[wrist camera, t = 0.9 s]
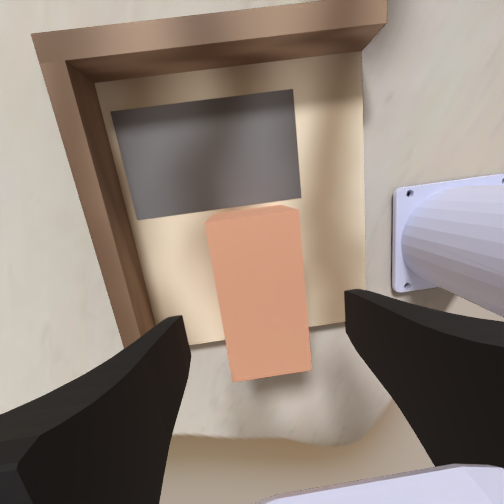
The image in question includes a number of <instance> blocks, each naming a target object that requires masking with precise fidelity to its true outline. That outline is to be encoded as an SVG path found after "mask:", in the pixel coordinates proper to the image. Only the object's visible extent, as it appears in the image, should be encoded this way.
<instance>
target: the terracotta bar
mask: <svg viewBox="0 0 504 504" xmlns="http://www.w3.org/2000/svg"><path fill="white" fill-rule="evenodd" d="M204 224H205V229H206V235H207V240H208V246H209V252H210V257H211V263H212V268H213V274H214V280H215V285H216V291H217V296H218V302H219V308H220V313H221V319H222V324H223V330H224V336H225V341H226V347H227V352H228V358H229V364H230V369H231V375H232V380H233V382H239V381H245V380H252V379H258V378H265V377H271V376H277V375H284V374H290V373H297V372H303V371H309V370H312V363H311V351H310V339H309V327H308V314H307V302H306V290H305V278H304V266H303V253H302V241H301V229H300V217H299V210H298V209H294V208H291V207H287V206H284V205H274V206H266V207H259V208H252V209H244V210H237V211H230V212H222V213H215V214H213V215H212V216H211V217H210V218H209V219H208V220H207V221H206V222H205V223H204Z"/></svg>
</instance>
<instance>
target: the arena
mask: <svg viewBox="0 0 504 504" xmlns="http://www.w3.org/2000/svg"><path fill="white" fill-rule="evenodd" d="M386 23H387V0H324V1H315V2H306V3H297V4H288V5H280V6H271V7H262V8H253V9H244V10H236V11H227V12H218V13H209V14H200V15H191V16H183V17H174V18H165V19H156V20H147V21H139V22H130V23H121V24H112V25H103V26H95V27H86V28H77V29H68V30H59V31H51V32H42V33H33V34H31V37H32V40H33V43H34V47H35V50H36V53H37V57H38V60H39V64H40V67H41V70H42V74H43V77H44V80H45V84H46V87H47V90H48V94H49V97H50V101H51V104H52V107H53V111H54V114H55V117H56V121H57V124H58V127H59V131H60V134H61V138H62V141H63V144H64V148H65V151H66V154H67V158H68V161H69V165H70V168H71V171H72V175H73V178H74V181H75V185H76V188H77V191H78V195H79V198H80V202H81V205H82V208H83V212H84V215H85V218H86V222H87V225H88V228H89V232H90V235H91V239H92V242H93V245H94V249H95V252H96V255H97V259H98V262H99V265H100V269H101V272H102V276H103V279H104V282H105V286H106V289H107V292H108V296H109V299H110V302H111V306H112V309H113V313H114V316H115V319H116V323H117V326H118V329H119V333H120V336H121V339H122V343H123V346H124V349H125V348H126V347H128V346H129V345H130V344H132V343H133V342H135V341H136V340H137V339H139V338H140V337H141V336H143V335H144V334H145V333H146V332H148V331H149V330H150V329H152V328H153V327H154V326H156V325H157V324H158V323H160V322H161V321H162V320H164V319H166V318H167V317H171V316H178V315H182V316H183V320H184V325H185V329H186V334H187V338H188V343H189V345H194V344H200V343H207V342H214V341H220V340H225V336H224V330H223V324H222V319H221V313H220V308H219V302H218V296H217V291H216V285H215V280H214V274H213V268H212V263H211V257H210V252H209V246H208V240H207V235H206V229H205V224H204V223H205V222H206V221H207V220H208V219H209V218H210V217H211V216H212V215H213V214H215V213H222V212H230V211H237V210H244V209H252V208H259V207H266V206H274V205H284V206H287V207H291V208H294V209H298V210H299V217H300V229H301V241H302V253H303V266H304V278H305V290H306V302H307V314H308V327H313V326H320V325H326V324H333V323H339V322H345V302H344V291H345V290H352V289H362V290H366V273H365V212H364V152H363V91H362V50H363V49H364V48H365V47H366V46H367V45H368V43H369V42H370V41H371V40H372V39H373V38H374V37H375V36H376V34H377V33H378V32H379V31H380V30H381V29H382V28H383V27H384V25H385V24H386Z"/></svg>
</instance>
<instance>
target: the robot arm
mask: <svg viewBox="0 0 504 504" xmlns="http://www.w3.org/2000/svg"><path fill="white" fill-rule="evenodd" d="M502 180H503V183H502ZM408 191H409V192H410V195H409V196H408V197H407V195H406V194H407V192H408ZM406 283H407V286H406V287H404V285H405V284H406ZM435 287H440V288H443V289H445V290H447V291H449V292H451V293H453V294H455V295H457V296H460V297H462V298H464V299H466V300H468V301H470V302H472V303H475V304H477V305H479V306H481V307H483V308H485V309H487V310H490V311H492V312H494V313H496V314H498V315H500V316H502V317H504V173H503V174H495V175H488V176H481V177H473V178H466V179H459V180H451V181H444V182H437V183H429V184H422V185H415V186H407V187H400V188H397V189H396V190H395V191H394V194H393V248H392V288H393V290H394V291H396V292H398V293H402V292H408V291H415V290H422V289H429V288H435ZM344 302H345V327H346V333H347V335H348V337H349V339H350V340H351V342H352V344H353V346H354V347H355V349H356V351H357V352H358V353H359V355H360V356H361V357H362V359H363V360H364V361H365V363H366V364H367V365H368V367H369V368H370V369H371V371H372V372H373V373H374V375H375V376H376V377H377V378H378V380H379V381H380V382H381V384H382V385H383V386H384V388H385V389H386V390H387V391H388V393H389V394H390V395H391V397H392V398H393V400H394V401H395V402H396V404H397V405H398V407H399V408H400V410H401V411H402V413H403V414H404V416H405V418H406V419H407V421H408V422H409V424H410V426H411V427H412V429H413V430H414V432H415V434H416V435H417V437H418V438H419V440H420V442H421V444H422V445H423V447H424V448H425V450H426V452H427V454H428V455H429V457H430V459H431V460H432V462H433V464H434V465H435V467H433V468H427V469H421V470H415V471H410V472H403V473H398V474H392V475H386V476H380V477H375V478H369V479H363V480H357V481H352V482H346V483H340V484H335V485H329V486H323V487H317V488H312V489H306V490H300V491H294V492H289V493H283V494H277V495H274V496H271V497H269V498H266V499H263V500H261V501H258V502H255V503H253V504H504V322H501V321H494V320H486V319H479V318H473V317H467V316H462V315H456V314H452V313H447V312H442V311H438V310H433V309H429V308H425V307H422V306H418V305H414V304H410V303H407V302H404V301H400V300H397V299H394V298H390V297H387V296H384V295H381V294H377V293H374V292H370V291H367V290H362V289H352V290H345V291H344ZM190 361H191V352H190V348H189V343H188V338H187V334H186V329H185V325H184V320H183V316H182V315H178V316H171V317H167V318H166V319H164V320H162V321H161V322H160V323H158V324H157V325H156V326H154V327H153V328H152V329H150V330H149V331H148V332H146V333H145V334H144V335H143V336H141V337H140V338H139V339H137V340H136V341H135V342H133V343H132V344H130V345H129V346H128V347H126V348H125V349H123V350H122V351H120V352H119V353H118V354H116V355H115V356H113V357H112V358H110V359H109V360H107V361H106V362H104V363H102V364H101V365H99V366H98V367H96V368H94V369H93V370H91V371H89V372H87V373H86V374H84V375H82V376H80V377H79V378H77V379H75V380H73V381H71V382H69V383H67V384H65V385H63V386H61V387H59V388H57V389H56V390H54V391H52V392H50V393H48V394H46V395H44V396H41V397H39V398H37V399H35V400H33V401H31V402H28V403H26V404H24V405H22V406H19V407H17V408H15V409H13V410H10V411H8V412H6V413H3V414H1V415H0V504H159V501H160V495H161V489H162V483H163V477H164V472H165V466H166V461H167V456H168V450H169V445H170V441H171V437H172V433H173V429H174V425H175V422H176V418H177V415H178V411H179V408H180V405H181V401H182V398H183V394H184V390H185V387H186V383H187V380H188V375H189V368H190Z"/></svg>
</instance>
